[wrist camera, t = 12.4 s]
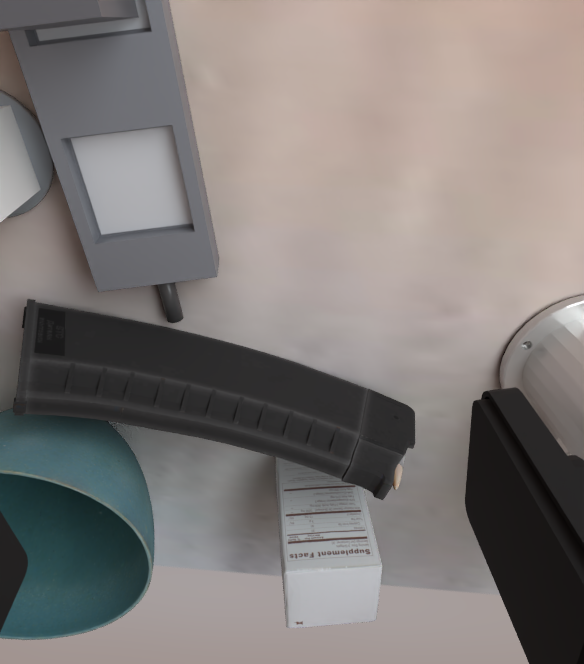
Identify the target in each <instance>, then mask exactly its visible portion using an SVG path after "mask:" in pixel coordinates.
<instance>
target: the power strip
mask: <svg viewBox="0 0 584 664" xmlns="http://www.w3.org/2000/svg"><path fill="white" fill-rule="evenodd" d="M135 3H136V7H137V11H138V16H139V18H131V19H123V20H115V21H107V22H99V23H91V24H83V25H75V26H66V27H58V28H50V29H36V30H14V31H8V32H9V34H10V37H11V40H12V43H13V46H14V49H15V52H16V55H17V58H18V61H19V64H20V66H21V69H22V72H23V75H24V78H25V81H26V84H27V87H28V90H29V93H30V95H31V98H32V101H33V104H34V107H35V110H36V113H37V116H38V119H39V122H40V125H41V127H42V130H43V133H44V136H45V139H46V142H47V145H48V148H49V151H50V154H51V156H52V159H53V162H54V165H55V168H56V171H57V174H58V177H59V180H60V183H61V186H62V188H63V191H64V194H65V197H66V200H67V203H68V206H69V209H70V212H71V215H72V218H73V220H74V223H75V226H76V229H77V232H78V235H79V238H80V241H81V244H82V247H83V249H84V252H85V255H86V258H87V261H88V264H89V267H90V270H91V273H92V276H93V279H94V281H95V284H96V287H97V290H98V292H102V291H110V290H117V289H125V288H133V287H141V286H149V285H157V284H158V288H159V292H160V295H161V299H162V303H163V306H164V310H165V314H166V317H167V321H168V322H170V323H175V322H179V321H181V320H182V319H183V314H182V310H181V306H180V302H179V298H178V294H177V290H176V286H175V282H181V281H189V280H197V279H204V278H212V277H217V273H218V265H219V255H218V250H217V245H216V240H215V234H214V229H213V224H212V219H211V214H210V209H209V204H208V199H207V193H206V188H205V183H204V178H203V173H202V168H201V163H200V158H199V152H198V147H197V142H196V137H195V132H194V127H193V122H192V117H191V112H190V106H189V101H188V96H187V91H186V86H185V81H184V76H183V71H182V65H181V60H180V55H179V50H178V45H177V40H176V35H175V30H174V24H173V19H172V14H171V9H170V4H169V0H135Z"/></svg>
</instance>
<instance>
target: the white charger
mask: <svg viewBox="0 0 584 664" xmlns="http://www.w3.org/2000/svg"><path fill="white" fill-rule="evenodd" d="M40 190H41V189H40V186H39V183H38V181H37V178H36V175H35V172H34V169H33V167H32V164H31V161H30V158H29V155H28V153H27V150H26V147H25V144H24V141H23V139H22V136H21V133H20V130H19V128H18V125H17V122H16V119H15V116H14V114H13V111H12V108H11V105H9V106H0V222H1V221H3V220H4V219H5V218H6V217H7V216H9V215H10V214H11V213H12V212H14V211H15V210H16V209H17V208H19V207H20V206H21V205H22V204H24V203H25V202H26V201H27V200H28V199H30V198H31V197H32V196H33V195H35V194H36V193H37V192H38V191H40Z"/></svg>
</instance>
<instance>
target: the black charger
mask: <svg viewBox="0 0 584 664" xmlns="http://www.w3.org/2000/svg"><path fill="white" fill-rule="evenodd" d="M131 18H139V16H138V11H137V7H136V3H135V0H0V31H14V30H36V29H50V28H58V27H66V26H75V25H83V24H91V23H99V22H107V21H115V20H123V19H131Z"/></svg>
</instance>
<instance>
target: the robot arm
mask: <svg viewBox="0 0 584 664" xmlns="http://www.w3.org/2000/svg"><path fill="white" fill-rule="evenodd" d="M500 384H501V388H502V389H498V390H490V391H485V392H483V394H482V398H481V400H475V401H474V402H473V406H472V417H471V430H470V443H469V456H468V469H467V481H466V494H465V506H466V511H467V515H468V518H469V521H470V524H471V526H472V528H473V531H474V533H475V535H476V538H477V540H478V543H479V545H480V547H481V550H482V552H483V555H484V557H485V559H486V562H487V564H488V566H489V569H490V571H491V574H492V576H493V578H494V581H495V583H496V586H497V588H498V590H499V593H500V595H501V597H502V600H503V602H504V605H505V607H506V609H507V612H508V614H509V616H510V619H511V621H512V624H513V626H514V628H515V631H516V633H517V636H518V638H519V640H520V643H521V645H522V647H523V650H524V652H525V654H526V657H527V659H528V662H529V664H584V295H581V296H577V297H573V298H569V299H567V300H564V301H562V302H559V303H557V304H554V305H553V306H551V307H549V308H547V309H546V310H544V311H542V312H540V313H539V314H538V315H536V316H535V317H534V318H533V319H531V320H530V321H529V322H527V323H526V324H525V326H524V327H523V328H522V329H521V330H520V331H519V332H518V333H517V334H516V335H515V337H514V338H513V340H512V341H511V342H510V344H509V345H508V347H507V349H506V351H505V354H504V356H503V358H502V362H501V366H500ZM570 454H571V455H570ZM27 567H28V557H27V554H26V552H25V550H24V549H23V547H22V545H21V544H20V542H19V540H18V539H17V537H16V536H15V534H14V532H13V531H12V529H11V527H10V526H9V524H8V523H7V521H6V519H5V518H4V516H3V514H2V513H1V511H0V632H1V630H2V627H3V625H4V623H5V620H6V618H7V616H8V614H9V611H10V609H11V607H12V604H13V602H14V600H15V598H16V595H17V593H18V591H19V588H20V586H21V584H22V582H23V579H24V577H25V575H26V572H27Z"/></svg>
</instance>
